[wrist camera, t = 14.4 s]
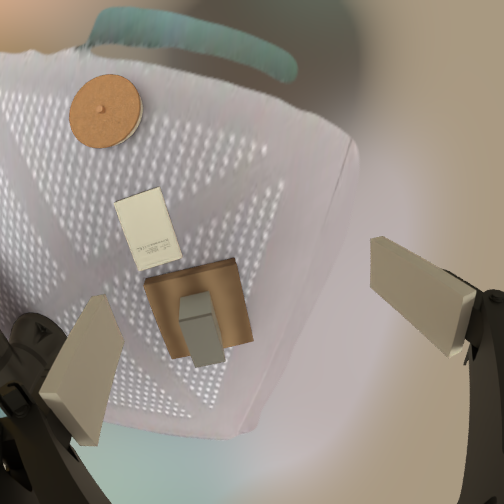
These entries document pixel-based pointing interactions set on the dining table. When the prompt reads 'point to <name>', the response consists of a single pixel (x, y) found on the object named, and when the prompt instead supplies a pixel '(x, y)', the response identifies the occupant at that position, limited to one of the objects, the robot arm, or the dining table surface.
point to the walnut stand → (193, 282)
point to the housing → (201, 329)
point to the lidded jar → (105, 111)
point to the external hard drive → (148, 229)
